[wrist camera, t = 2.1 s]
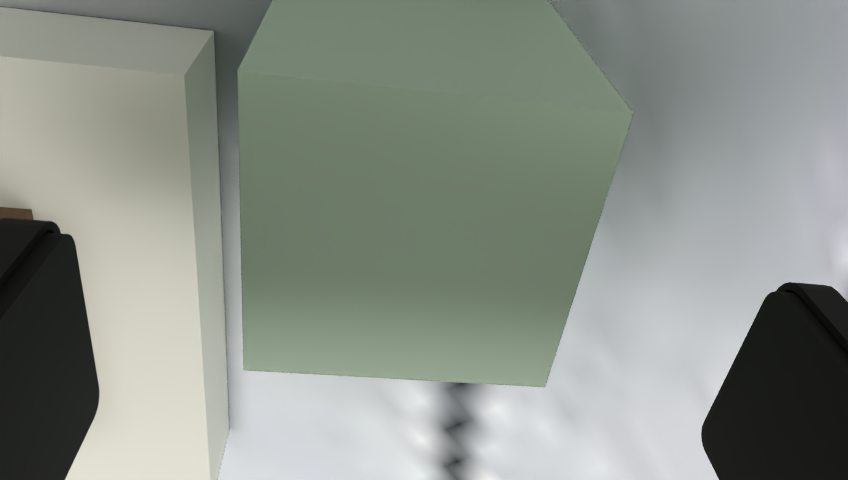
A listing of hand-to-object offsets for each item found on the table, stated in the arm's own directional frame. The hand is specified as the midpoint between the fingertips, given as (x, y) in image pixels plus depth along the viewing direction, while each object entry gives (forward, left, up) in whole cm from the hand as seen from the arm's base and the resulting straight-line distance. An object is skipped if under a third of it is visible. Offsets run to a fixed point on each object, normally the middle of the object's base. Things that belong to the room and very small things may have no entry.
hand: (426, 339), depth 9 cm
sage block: (-1, 0, -7) cm, 7 cm away
